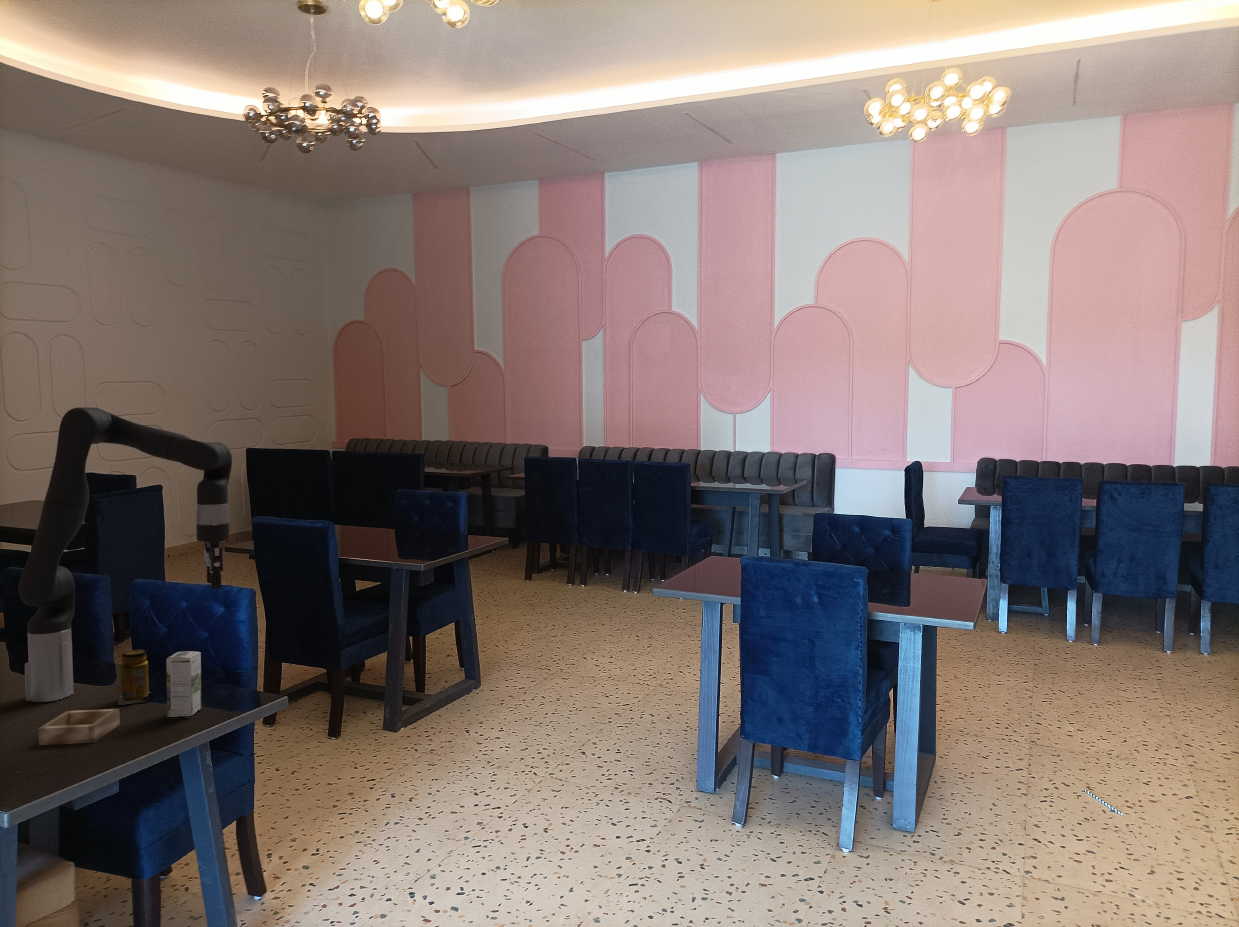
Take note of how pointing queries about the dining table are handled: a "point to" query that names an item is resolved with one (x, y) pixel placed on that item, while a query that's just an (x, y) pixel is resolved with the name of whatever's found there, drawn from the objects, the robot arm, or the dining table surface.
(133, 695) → the condiment
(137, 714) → the dining table surface
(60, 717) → the wooden tray
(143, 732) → the dining table surface
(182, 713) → the syrup box
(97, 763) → the dining table surface
